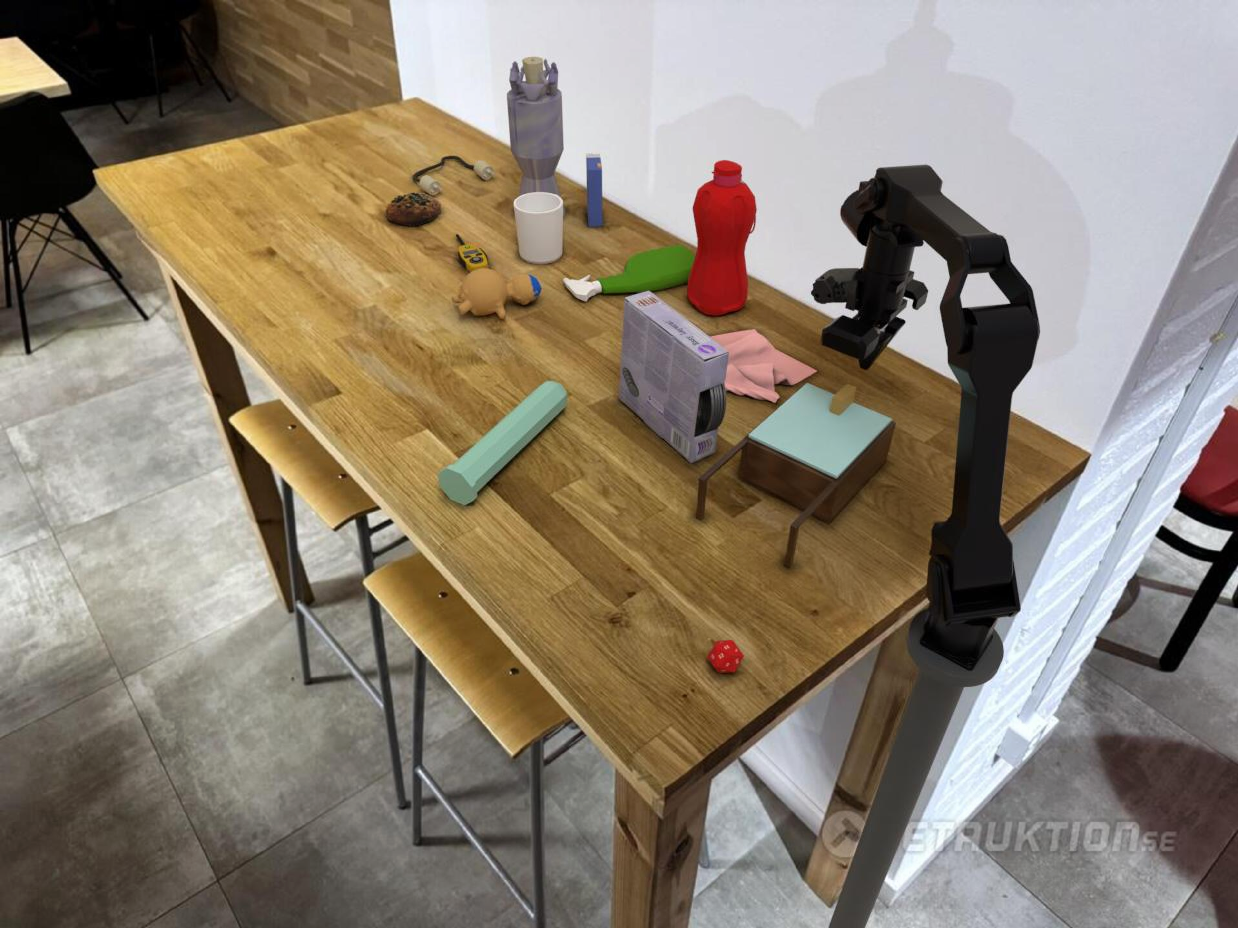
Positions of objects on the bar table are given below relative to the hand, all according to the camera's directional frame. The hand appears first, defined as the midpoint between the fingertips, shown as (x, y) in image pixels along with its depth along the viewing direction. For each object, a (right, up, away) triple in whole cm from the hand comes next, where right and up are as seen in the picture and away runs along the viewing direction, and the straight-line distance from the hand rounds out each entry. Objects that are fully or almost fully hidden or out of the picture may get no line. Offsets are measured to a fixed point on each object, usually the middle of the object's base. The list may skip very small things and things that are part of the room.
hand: (864, 368), depth 126 cm
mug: (-47, +27, +49) cm, 73 cm away
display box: (-10, -16, -2) cm, 19 cm away
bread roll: (-75, +37, +60) cm, 103 cm away
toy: (-54, +13, +33) cm, 65 cm away
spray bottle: (-31, +20, +40) cm, 54 cm away
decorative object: (-49, +38, +61) cm, 87 cm away
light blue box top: (-7, -9, -4) cm, 11 cm away
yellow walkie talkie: (-62, +26, +47) cm, 82 cm away
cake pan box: (-26, -8, +8) cm, 29 cm away
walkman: (-38, +36, +60) cm, 80 cm away
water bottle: (-16, +15, +35) cm, 41 cm away
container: (-48, -11, +4) cm, 50 cm away
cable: (-71, +48, +74) cm, 113 cm away
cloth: (-14, +2, +20) cm, 24 cm away
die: (-22, -35, -24) cm, 48 cm away
